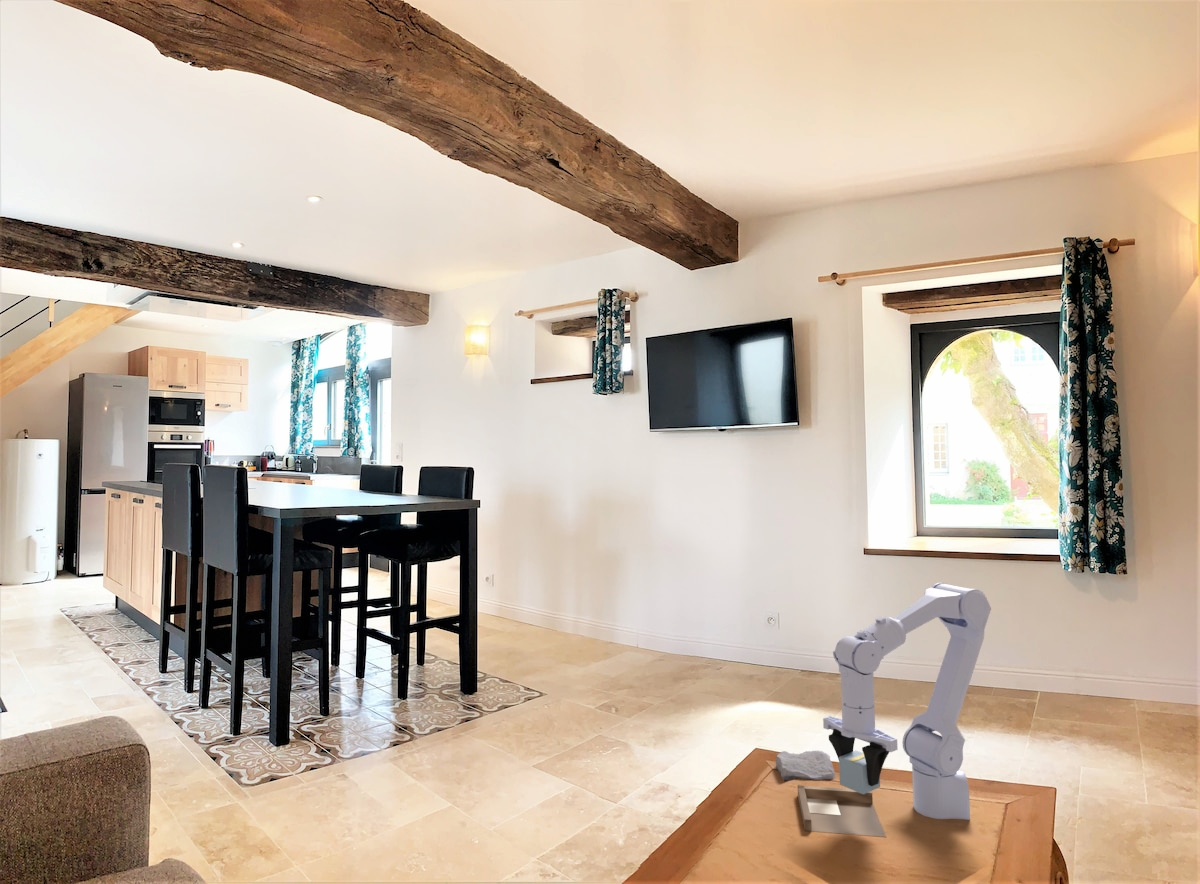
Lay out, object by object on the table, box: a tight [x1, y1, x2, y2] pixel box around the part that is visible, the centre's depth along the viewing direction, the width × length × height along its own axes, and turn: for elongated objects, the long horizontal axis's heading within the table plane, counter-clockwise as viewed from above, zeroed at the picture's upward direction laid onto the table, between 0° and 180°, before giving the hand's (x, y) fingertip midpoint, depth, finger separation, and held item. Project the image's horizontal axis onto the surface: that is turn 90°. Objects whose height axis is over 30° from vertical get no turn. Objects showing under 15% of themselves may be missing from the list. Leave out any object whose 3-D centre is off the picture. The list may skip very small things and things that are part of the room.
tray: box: [797, 785, 887, 838], centre depth 133 cm, size 14×14×3 cm
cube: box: [838, 750, 881, 794], centre depth 130 cm, size 5×5×5 cm
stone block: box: [775, 750, 836, 782], centre depth 153 cm, size 12×5×10 cm
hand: (860, 778), depth 130 cm, fingers closed on cube, 5 cm apart
